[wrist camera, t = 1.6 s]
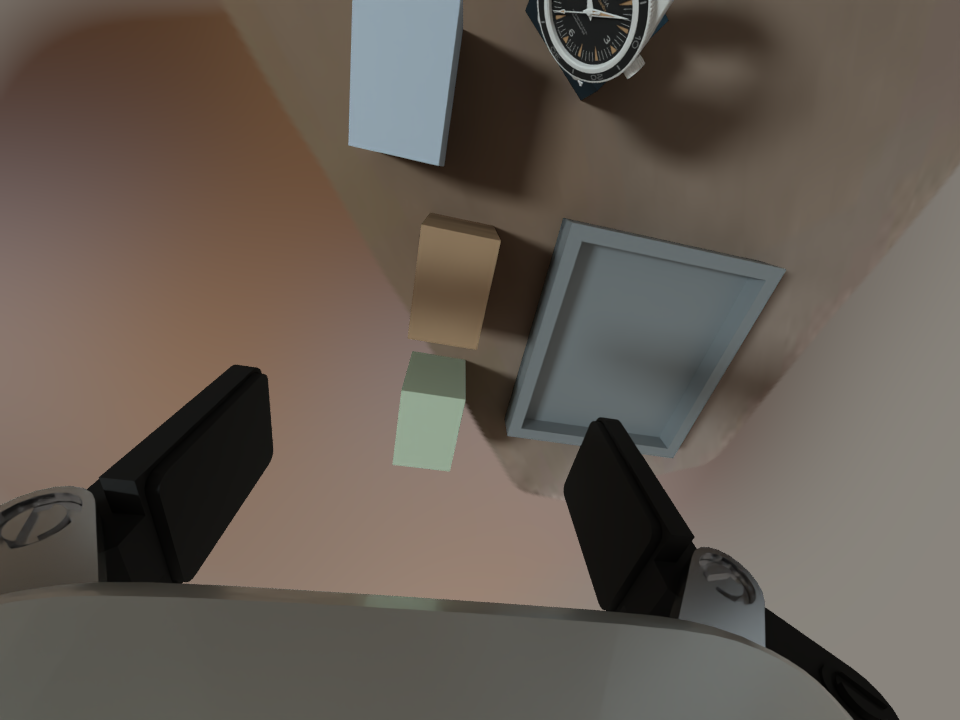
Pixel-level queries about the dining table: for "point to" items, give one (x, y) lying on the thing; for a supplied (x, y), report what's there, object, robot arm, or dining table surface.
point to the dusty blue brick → (404, 76)
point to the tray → (632, 336)
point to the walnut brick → (452, 280)
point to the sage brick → (430, 411)
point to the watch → (597, 36)
